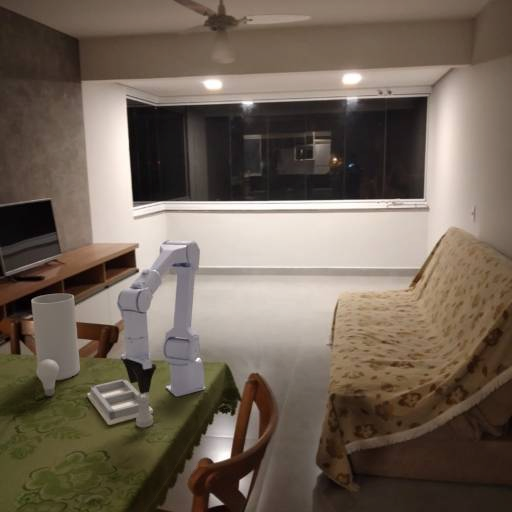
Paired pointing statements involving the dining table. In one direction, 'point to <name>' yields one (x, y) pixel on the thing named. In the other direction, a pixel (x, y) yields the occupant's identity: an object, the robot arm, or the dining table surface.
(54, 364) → the lightbulb
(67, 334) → the cylinder vase
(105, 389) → the pocket tray
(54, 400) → the dining table surface
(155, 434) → the dining table surface
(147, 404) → the rook chess piece
